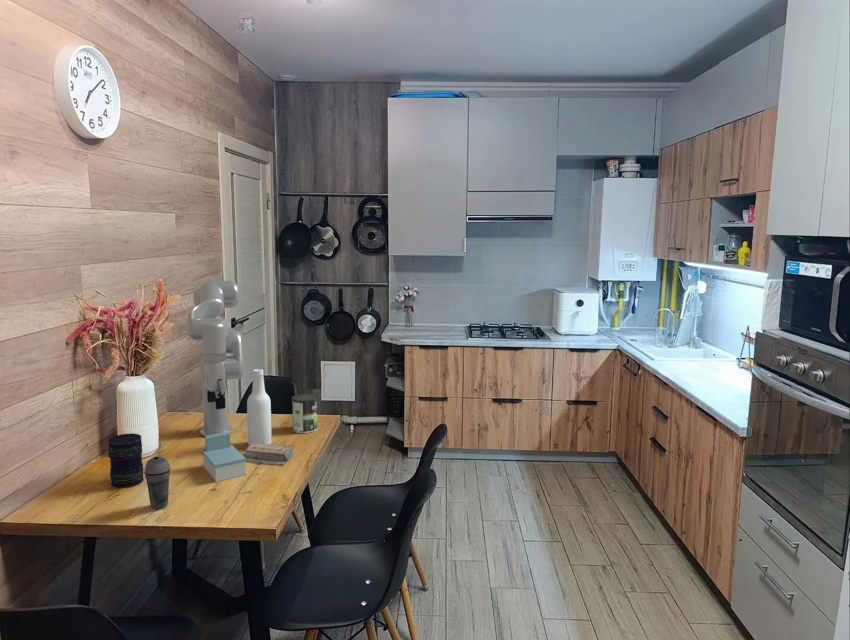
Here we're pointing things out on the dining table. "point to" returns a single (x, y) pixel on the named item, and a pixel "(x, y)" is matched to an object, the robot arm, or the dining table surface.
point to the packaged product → (268, 454)
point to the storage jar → (125, 460)
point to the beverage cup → (158, 481)
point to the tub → (224, 470)
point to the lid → (221, 451)
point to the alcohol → (259, 411)
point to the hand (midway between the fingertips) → (216, 405)
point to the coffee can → (304, 413)
